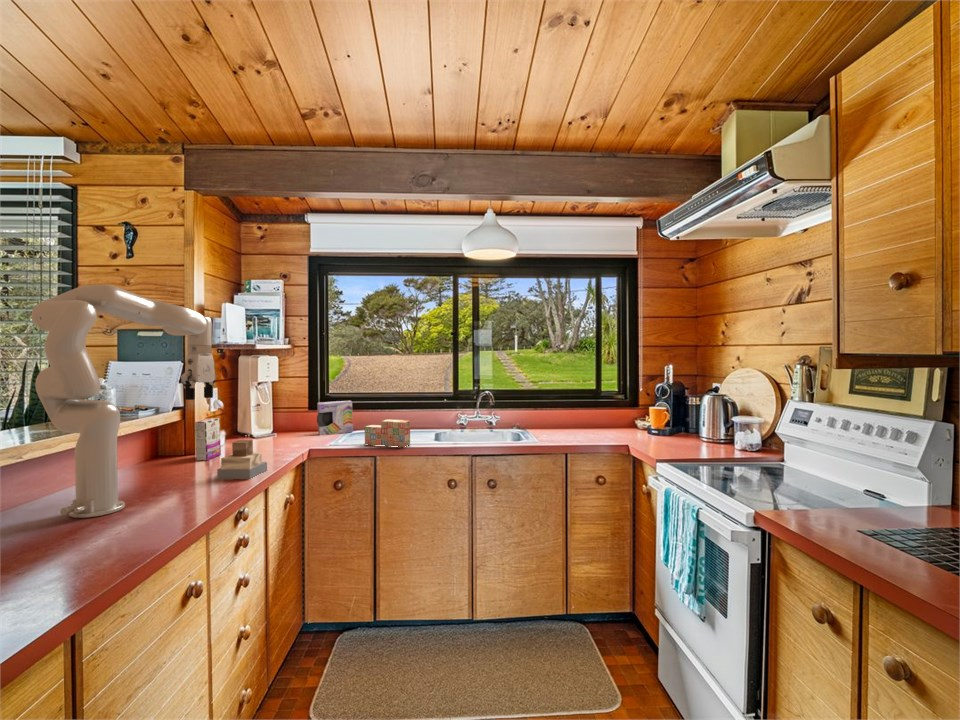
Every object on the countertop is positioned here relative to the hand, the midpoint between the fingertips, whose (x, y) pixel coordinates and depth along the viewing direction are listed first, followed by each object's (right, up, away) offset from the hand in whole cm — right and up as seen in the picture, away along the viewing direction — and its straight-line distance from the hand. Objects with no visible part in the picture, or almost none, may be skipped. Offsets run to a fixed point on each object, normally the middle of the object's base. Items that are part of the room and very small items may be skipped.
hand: (199, 398), depth 174 cm
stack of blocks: (+56, -28, +59) cm, 86 cm away
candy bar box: (-16, -28, +35) cm, 48 cm away
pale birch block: (+13, -25, +5) cm, 29 cm away
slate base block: (+13, -29, +5) cm, 32 cm away
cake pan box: (+20, -27, +96) cm, 101 cm away
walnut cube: (+13, -21, +5) cm, 25 cm away
